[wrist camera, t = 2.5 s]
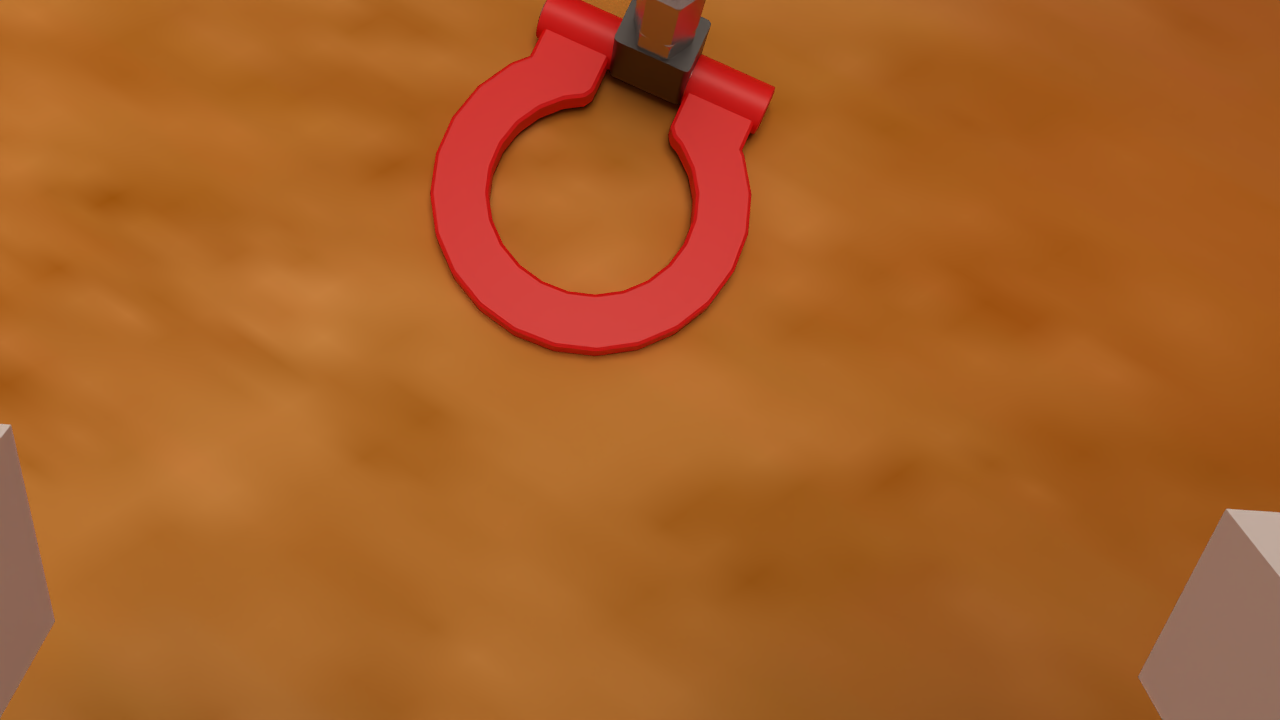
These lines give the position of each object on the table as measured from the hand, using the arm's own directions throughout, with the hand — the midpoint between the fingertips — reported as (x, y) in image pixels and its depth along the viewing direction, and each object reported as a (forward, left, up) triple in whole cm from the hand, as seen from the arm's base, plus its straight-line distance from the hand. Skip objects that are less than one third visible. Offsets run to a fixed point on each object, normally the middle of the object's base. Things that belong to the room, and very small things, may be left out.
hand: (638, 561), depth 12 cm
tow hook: (+6, -8, -15) cm, 19 cm away
